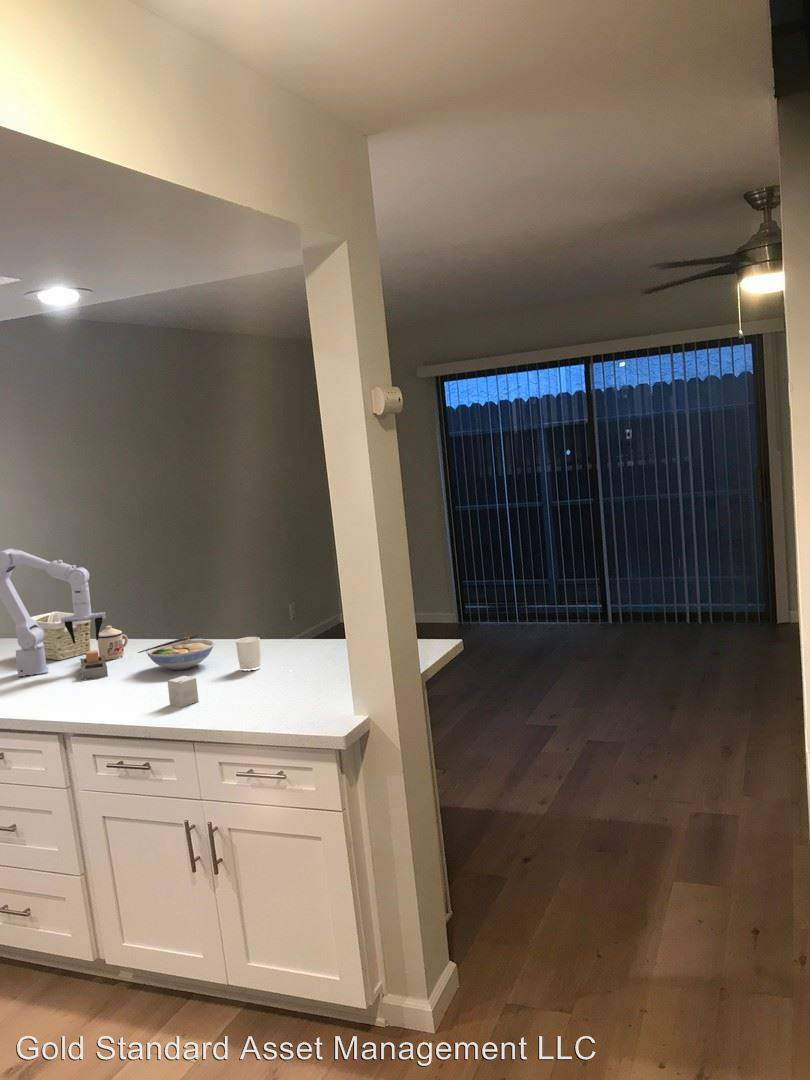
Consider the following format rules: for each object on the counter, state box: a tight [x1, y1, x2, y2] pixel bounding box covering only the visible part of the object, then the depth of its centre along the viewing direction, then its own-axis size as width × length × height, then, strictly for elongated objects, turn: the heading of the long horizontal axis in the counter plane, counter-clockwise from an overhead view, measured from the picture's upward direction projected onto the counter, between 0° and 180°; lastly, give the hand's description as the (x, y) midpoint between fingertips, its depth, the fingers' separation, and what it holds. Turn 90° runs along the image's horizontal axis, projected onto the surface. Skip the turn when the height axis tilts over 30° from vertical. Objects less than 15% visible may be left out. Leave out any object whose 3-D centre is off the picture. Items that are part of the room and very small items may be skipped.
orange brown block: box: [85, 649, 99, 663], centre depth 316 cm, size 4×4×6 cm
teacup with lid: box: [97, 625, 129, 661], centre depth 332 cm, size 12×9×12 cm
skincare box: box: [167, 675, 200, 708], centre depth 264 cm, size 6×6×7 cm
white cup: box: [235, 636, 262, 670], centre depth 298 cm, size 8×8×10 cm
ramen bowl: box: [137, 634, 215, 671], centre depth 308 cm, size 25×23×8 cm
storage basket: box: [30, 611, 92, 661], centre depth 343 cm, size 24×16×15 cm
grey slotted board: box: [80, 655, 109, 681], centre depth 311 cm, size 20×8×3 cm, turn 21°
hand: (85, 641), depth 315 cm, fingers open, 7 cm apart
